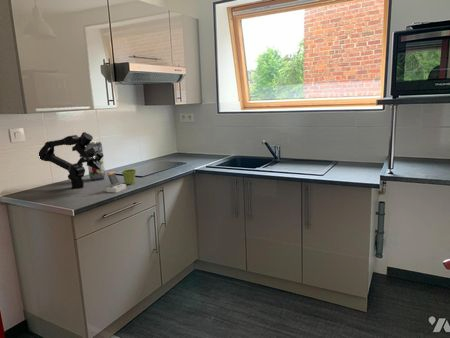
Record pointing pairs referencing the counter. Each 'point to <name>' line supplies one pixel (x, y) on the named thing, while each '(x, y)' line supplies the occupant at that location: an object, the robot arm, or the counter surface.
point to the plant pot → (129, 176)
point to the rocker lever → (113, 178)
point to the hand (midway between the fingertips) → (99, 169)
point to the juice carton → (94, 172)
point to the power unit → (116, 187)
